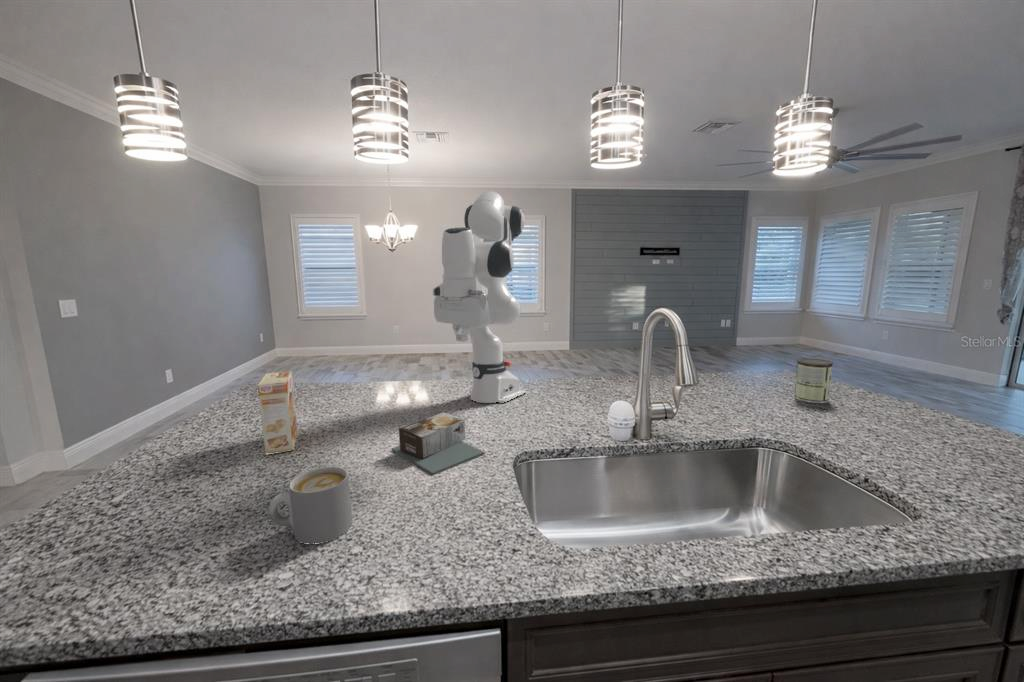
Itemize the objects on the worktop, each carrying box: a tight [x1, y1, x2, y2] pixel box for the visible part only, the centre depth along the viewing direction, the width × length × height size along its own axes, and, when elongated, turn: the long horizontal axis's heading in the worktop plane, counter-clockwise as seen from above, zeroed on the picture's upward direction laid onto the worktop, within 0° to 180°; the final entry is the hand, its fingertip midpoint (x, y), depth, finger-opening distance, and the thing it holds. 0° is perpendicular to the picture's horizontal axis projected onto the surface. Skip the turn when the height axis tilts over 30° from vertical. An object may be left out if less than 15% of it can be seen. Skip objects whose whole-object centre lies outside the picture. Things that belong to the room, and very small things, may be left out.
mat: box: [391, 441, 485, 476], centre depth 111 cm, size 16×20×1 cm
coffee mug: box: [268, 466, 353, 544], centre depth 77 cm, size 13×10×10 cm
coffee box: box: [398, 411, 466, 460], centre depth 113 cm, size 9×6×16 cm
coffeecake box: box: [257, 370, 298, 454], centre depth 117 cm, size 15×7×20 cm, turn 23°
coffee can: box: [794, 357, 834, 404], centre depth 149 cm, size 10×10×14 cm
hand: (461, 341), depth 113 cm, fingers closed
